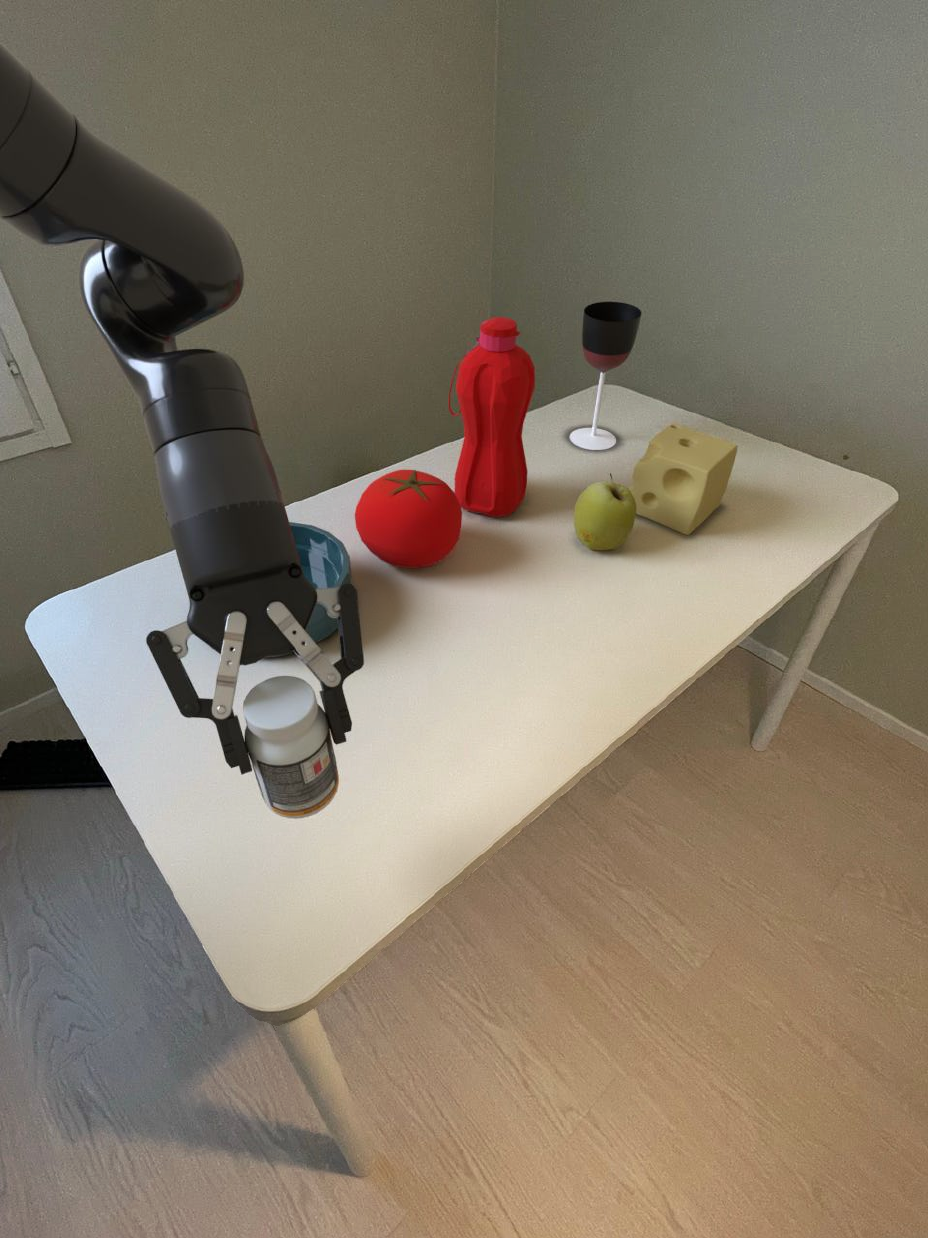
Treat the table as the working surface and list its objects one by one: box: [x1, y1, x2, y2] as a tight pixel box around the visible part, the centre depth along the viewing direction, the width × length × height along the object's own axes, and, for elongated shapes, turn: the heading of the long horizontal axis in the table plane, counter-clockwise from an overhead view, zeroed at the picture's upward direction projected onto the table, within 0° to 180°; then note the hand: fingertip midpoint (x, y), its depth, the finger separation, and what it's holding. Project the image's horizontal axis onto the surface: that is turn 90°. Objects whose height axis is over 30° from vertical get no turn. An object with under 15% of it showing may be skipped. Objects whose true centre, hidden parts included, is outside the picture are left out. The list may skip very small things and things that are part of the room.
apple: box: [573, 473, 637, 551], centre depth 90 cm, size 8×8×10 cm
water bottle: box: [448, 316, 536, 518], centre depth 92 cm, size 9×11×25 cm
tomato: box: [354, 469, 463, 569], centre depth 87 cm, size 12×13×11 cm
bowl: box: [289, 521, 354, 644], centre depth 80 cm, size 17×17×6 cm
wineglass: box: [569, 301, 642, 451], centre depth 108 cm, size 8×9×20 cm
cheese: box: [627, 422, 739, 536], centre depth 96 cm, size 10×11×10 cm
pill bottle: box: [242, 675, 340, 819], centre depth 49 cm, size 6×6×10 cm
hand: (294, 755), depth 47 cm, fingers closed on pill bottle, 5 cm apart
